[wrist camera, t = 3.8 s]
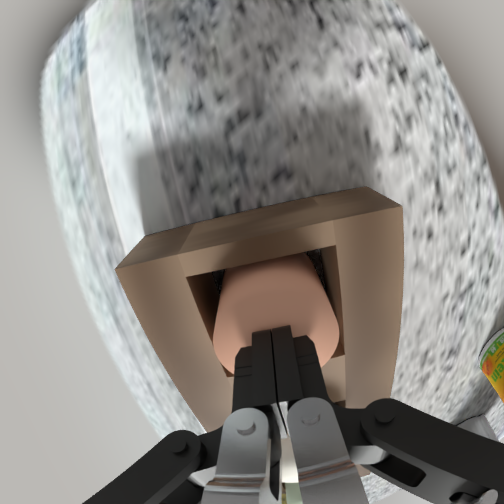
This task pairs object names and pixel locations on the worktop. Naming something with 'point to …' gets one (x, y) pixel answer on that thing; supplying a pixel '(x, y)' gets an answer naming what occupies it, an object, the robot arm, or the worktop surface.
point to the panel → (264, 248)
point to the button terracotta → (273, 306)
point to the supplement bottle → (494, 362)
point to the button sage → (293, 493)
